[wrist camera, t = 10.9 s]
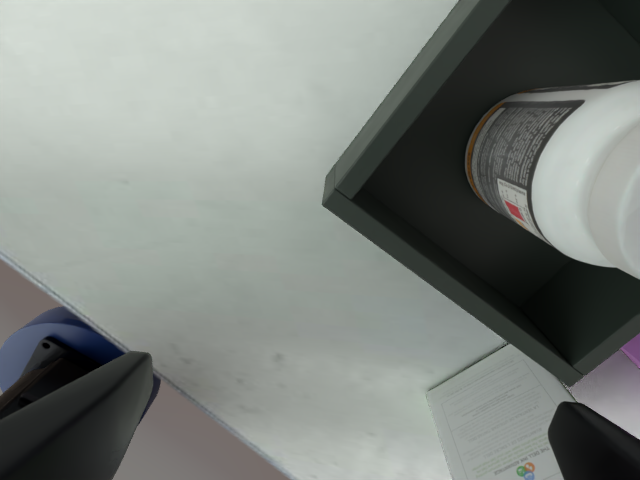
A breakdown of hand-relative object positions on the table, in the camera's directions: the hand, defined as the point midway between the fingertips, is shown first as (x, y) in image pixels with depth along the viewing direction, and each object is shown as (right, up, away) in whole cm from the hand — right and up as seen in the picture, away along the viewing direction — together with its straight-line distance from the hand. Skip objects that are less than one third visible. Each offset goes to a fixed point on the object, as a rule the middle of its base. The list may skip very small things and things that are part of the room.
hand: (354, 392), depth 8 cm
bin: (+9, +8, +10) cm, 16 cm away
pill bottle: (+9, +8, +10) cm, 15 cm away
